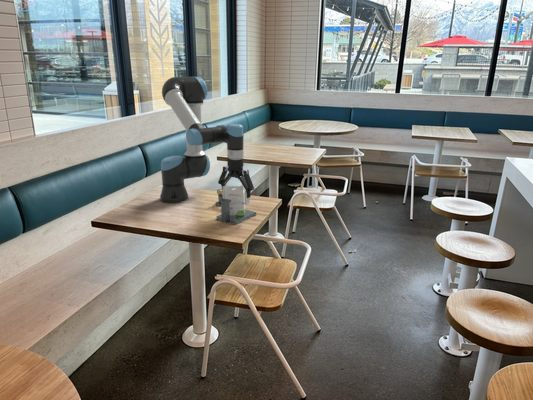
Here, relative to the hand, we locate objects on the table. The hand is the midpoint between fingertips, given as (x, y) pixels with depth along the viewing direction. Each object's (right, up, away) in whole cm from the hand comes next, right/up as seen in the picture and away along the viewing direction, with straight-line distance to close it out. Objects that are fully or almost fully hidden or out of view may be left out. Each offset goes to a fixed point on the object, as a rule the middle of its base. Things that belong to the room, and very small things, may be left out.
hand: (235, 201), depth 195 cm
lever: (-4, +2, +15) cm, 16 cm away
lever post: (-10, -2, +20) cm, 23 cm away
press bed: (0, -8, +2) cm, 8 cm away
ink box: (0, -6, +2) cm, 7 cm away
